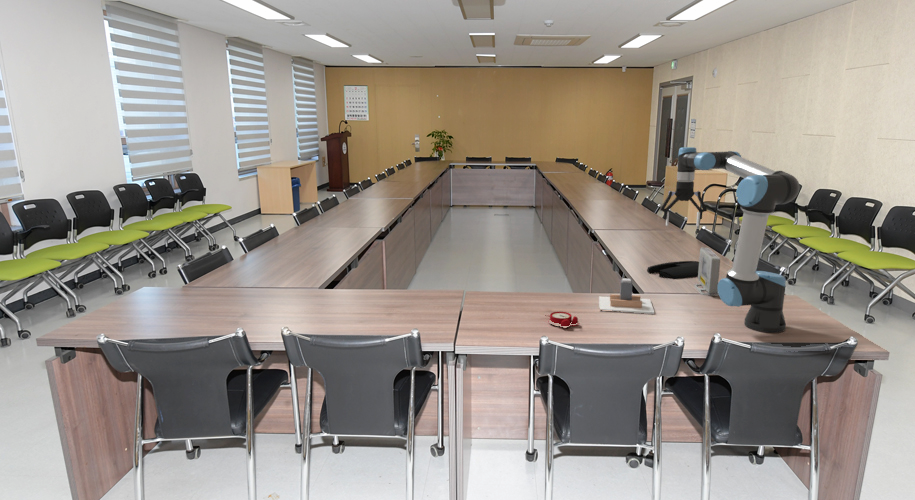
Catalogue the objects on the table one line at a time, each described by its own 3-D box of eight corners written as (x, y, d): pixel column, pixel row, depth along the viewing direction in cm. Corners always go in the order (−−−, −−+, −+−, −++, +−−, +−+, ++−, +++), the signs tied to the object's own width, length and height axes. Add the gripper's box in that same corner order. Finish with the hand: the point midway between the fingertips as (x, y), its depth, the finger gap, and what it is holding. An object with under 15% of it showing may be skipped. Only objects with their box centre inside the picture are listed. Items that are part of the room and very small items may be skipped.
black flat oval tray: (725, 273, 313) (726, 265, 312) (669, 281, 299) (670, 272, 297) (692, 264, 335) (693, 256, 334) (639, 271, 321) (639, 263, 320)
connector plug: (631, 305, 254) (632, 281, 252) (620, 305, 255) (621, 280, 253) (630, 302, 259) (631, 278, 256) (619, 302, 260) (620, 277, 258)
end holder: (654, 314, 245) (654, 305, 244) (599, 311, 251) (599, 302, 250) (649, 300, 264) (650, 293, 263) (598, 298, 270) (599, 290, 269)
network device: (721, 297, 267) (725, 258, 263) (703, 297, 269) (706, 257, 264) (709, 283, 291) (712, 247, 287) (691, 283, 293) (694, 246, 289)
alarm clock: (558, 309, 243) (583, 310, 231) (560, 323, 244) (585, 325, 231) (541, 314, 237) (566, 315, 225) (543, 328, 238) (569, 330, 225)
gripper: (712, 180, 253) (708, 225, 258) (656, 180, 259) (653, 223, 264) (716, 181, 246) (712, 227, 251) (657, 181, 252) (655, 226, 256)
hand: (682, 225), depth 257 cm, fingers open, 13 cm apart
